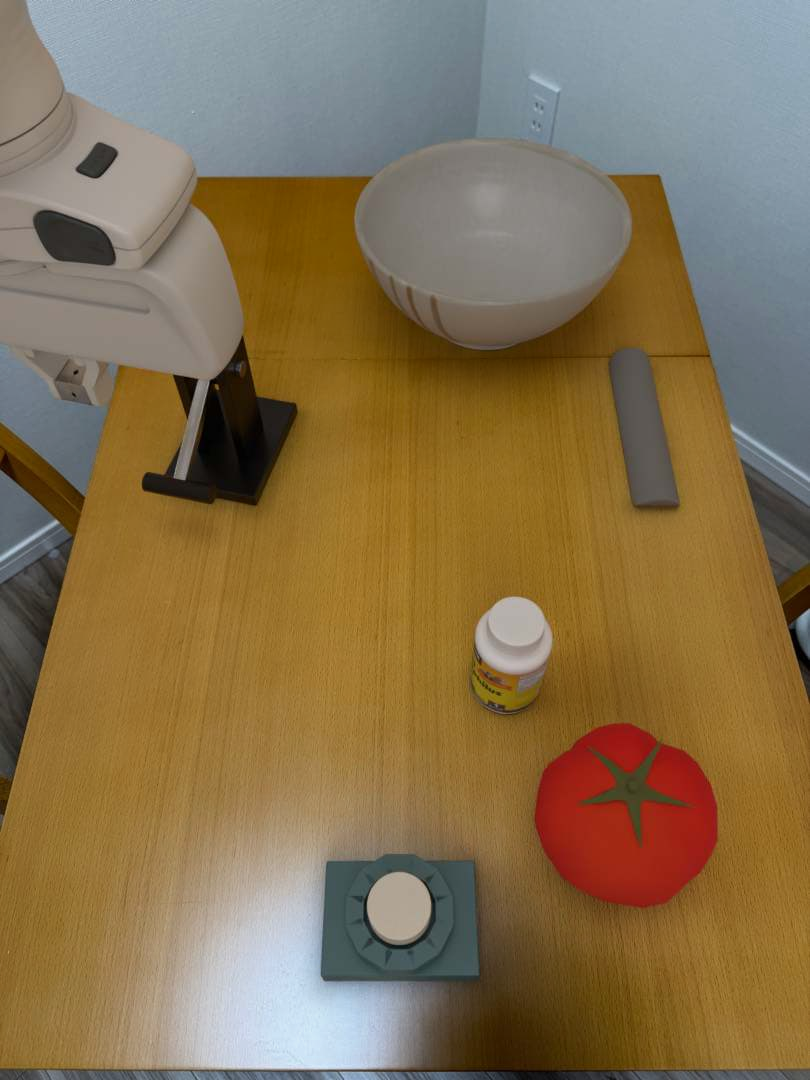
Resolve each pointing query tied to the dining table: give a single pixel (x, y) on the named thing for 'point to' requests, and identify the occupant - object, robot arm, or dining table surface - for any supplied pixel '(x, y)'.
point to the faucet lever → (187, 456)
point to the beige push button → (399, 908)
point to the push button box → (429, 958)
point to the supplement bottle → (510, 655)
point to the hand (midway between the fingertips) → (86, 395)
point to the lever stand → (236, 432)
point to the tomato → (626, 816)
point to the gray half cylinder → (642, 430)
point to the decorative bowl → (492, 238)
